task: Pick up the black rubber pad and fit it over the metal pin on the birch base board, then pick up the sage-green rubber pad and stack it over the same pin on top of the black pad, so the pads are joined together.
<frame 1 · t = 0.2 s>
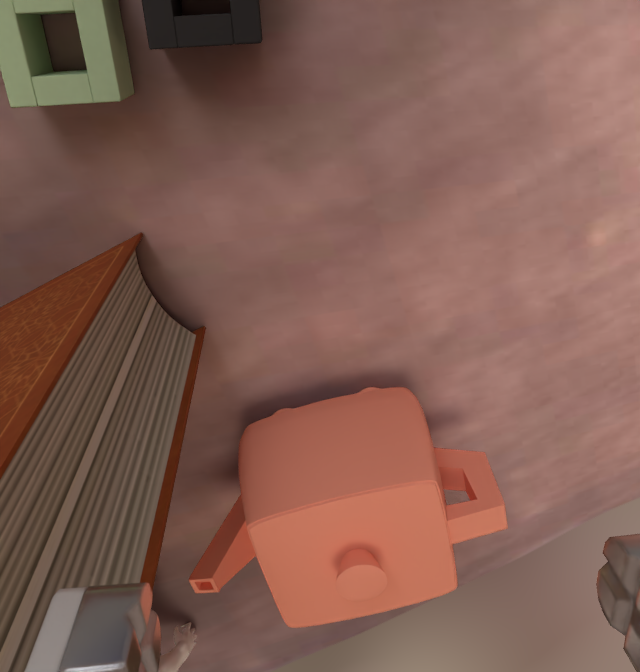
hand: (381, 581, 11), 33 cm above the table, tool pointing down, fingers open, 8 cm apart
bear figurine: (91, 597, 57), on the table
sage pad: (73, 42, 36), on the table
teapot: (332, 446, 51), on the table
book: (41, 350, 45), on the table
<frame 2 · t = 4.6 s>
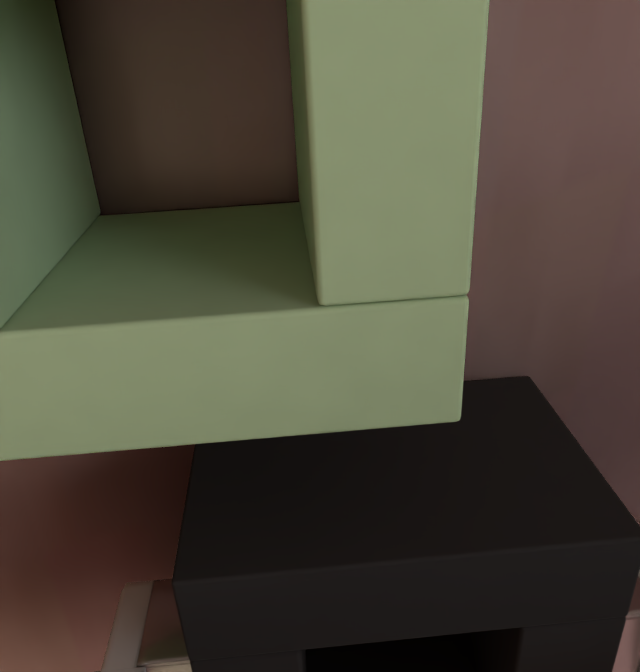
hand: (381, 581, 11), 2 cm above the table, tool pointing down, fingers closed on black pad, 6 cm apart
sage pad: (186, 103, 9), on the table
black pad: (369, 512, 12), on the table, touching gripper
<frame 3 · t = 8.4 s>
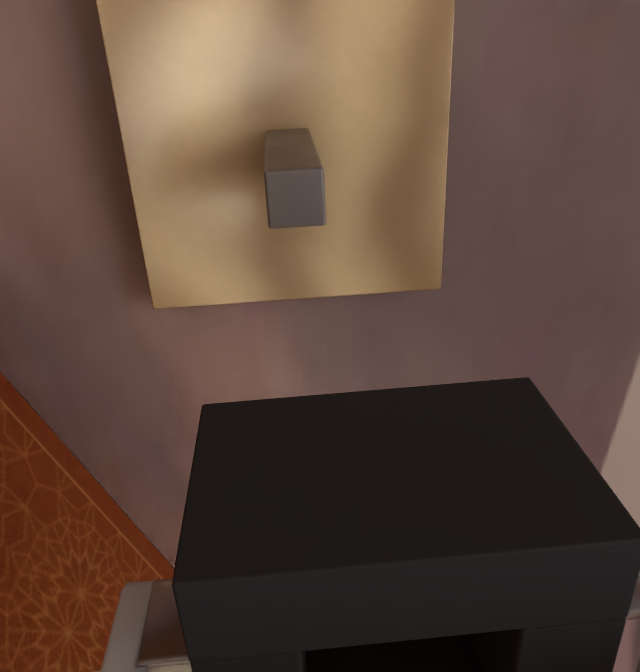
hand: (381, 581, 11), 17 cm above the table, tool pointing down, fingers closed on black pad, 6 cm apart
base board: (287, 144, 24), on the table
black pad: (369, 513, 12), point 15 cm above the table, touching gripper
when the fingers open (3 cm above the table, at t = 12.4 s): black pad stays where it is, resting on base board.
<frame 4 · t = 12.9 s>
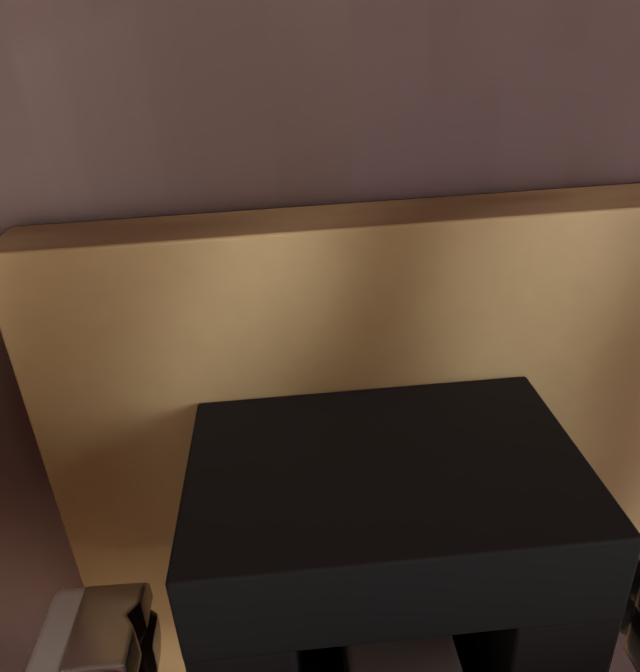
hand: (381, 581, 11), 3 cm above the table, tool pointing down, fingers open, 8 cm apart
base board: (356, 465, 14), on the table
black pad: (366, 513, 12), point 1 cm above the table, touching base board
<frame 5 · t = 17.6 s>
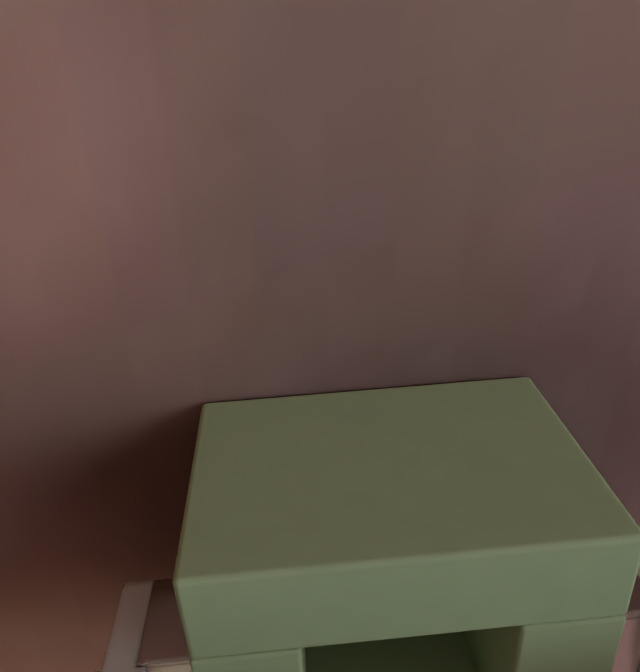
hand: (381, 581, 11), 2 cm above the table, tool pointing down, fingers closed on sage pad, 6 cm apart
sage pad: (369, 512, 12), on the table, touching gripper
when the fingers open (7 cm above the table, at t = 24.5 s): sage pad stays where it is, resting on black pad.
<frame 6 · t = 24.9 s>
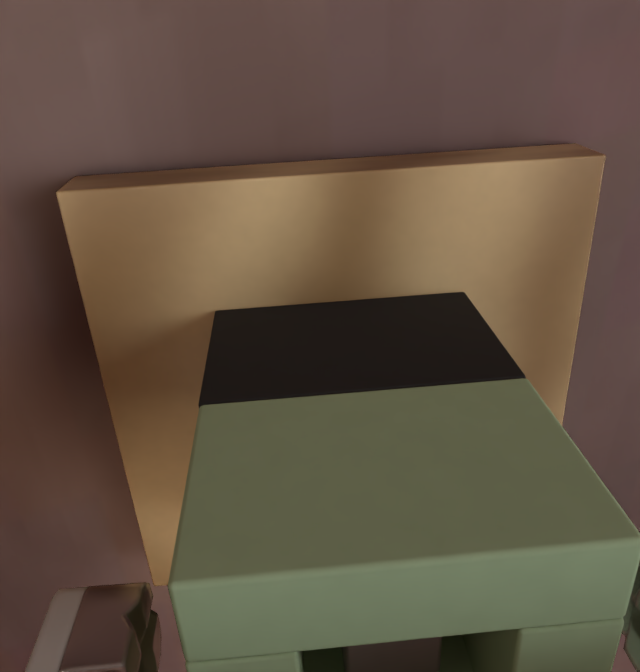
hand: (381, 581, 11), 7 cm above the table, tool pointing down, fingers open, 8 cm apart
base board: (338, 375, 17), on the table
sage pad: (367, 514, 12), point 5 cm above the table, touching black pad
black pad: (344, 405, 16), point 1 cm above the table, touching base board, sage pad
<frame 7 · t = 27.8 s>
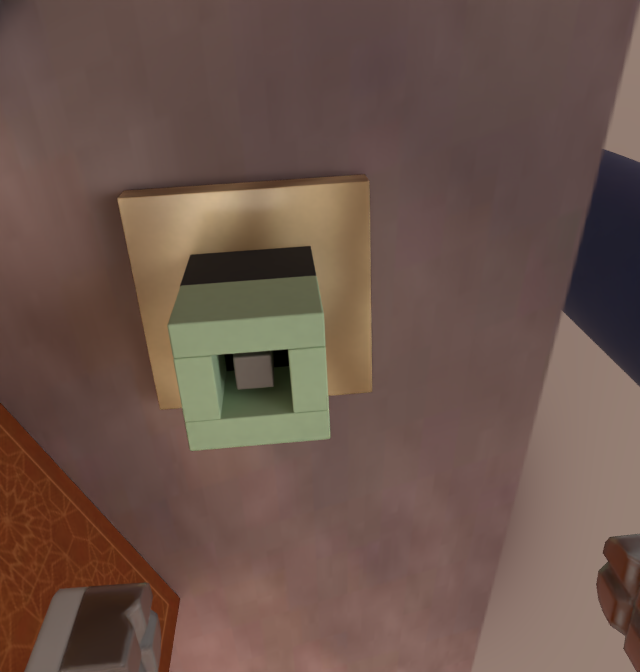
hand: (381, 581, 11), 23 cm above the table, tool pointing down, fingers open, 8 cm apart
base board: (257, 293, 33), on the table
sage pad: (255, 340, 28), point 5 cm above the table, touching black pad
book: (27, 512, 39), on the table
black pad: (256, 304, 32), point 1 cm above the table, touching base board, sage pad
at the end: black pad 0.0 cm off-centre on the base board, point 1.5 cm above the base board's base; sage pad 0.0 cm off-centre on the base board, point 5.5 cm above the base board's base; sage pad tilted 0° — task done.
